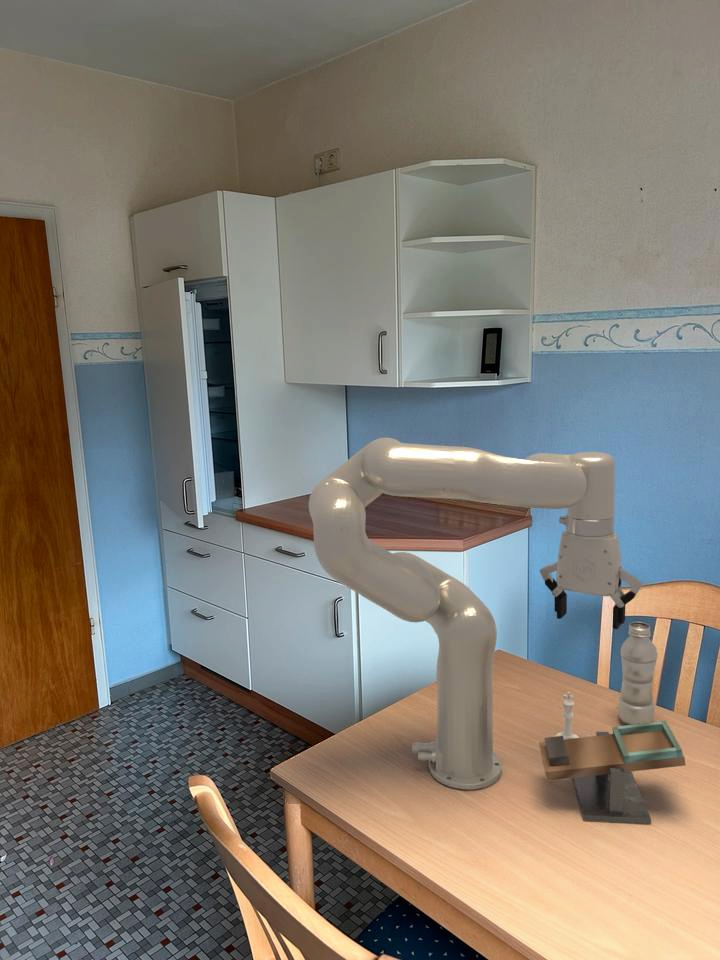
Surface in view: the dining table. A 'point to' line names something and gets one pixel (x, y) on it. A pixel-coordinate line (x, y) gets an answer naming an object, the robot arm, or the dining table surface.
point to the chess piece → (568, 718)
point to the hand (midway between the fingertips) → (588, 621)
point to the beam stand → (611, 797)
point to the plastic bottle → (637, 676)
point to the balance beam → (612, 751)
